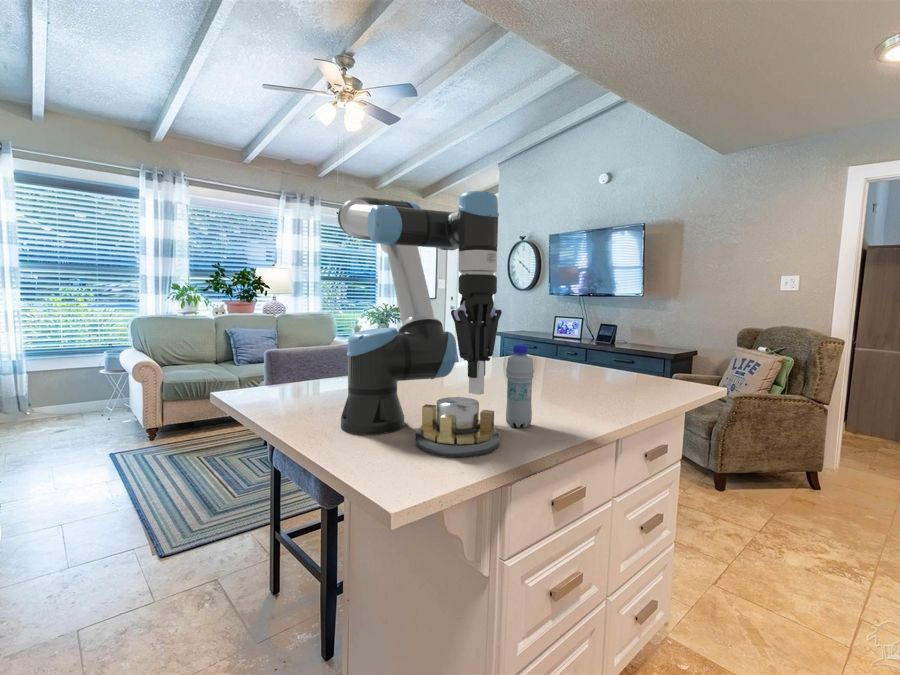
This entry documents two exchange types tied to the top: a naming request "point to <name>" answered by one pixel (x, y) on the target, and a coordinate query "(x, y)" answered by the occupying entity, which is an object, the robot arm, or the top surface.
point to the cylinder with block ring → (448, 427)
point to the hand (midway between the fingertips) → (476, 393)
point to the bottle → (519, 387)
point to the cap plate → (457, 447)
